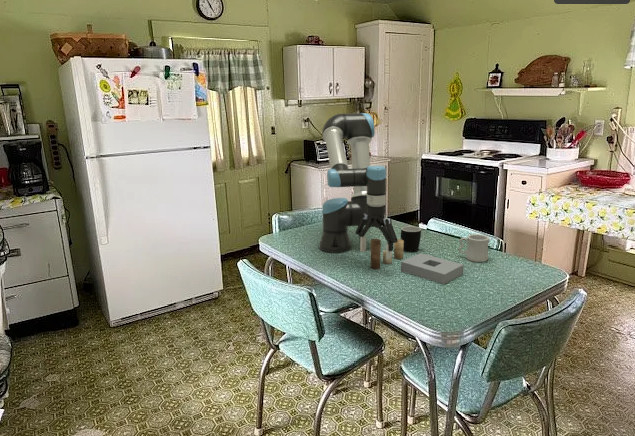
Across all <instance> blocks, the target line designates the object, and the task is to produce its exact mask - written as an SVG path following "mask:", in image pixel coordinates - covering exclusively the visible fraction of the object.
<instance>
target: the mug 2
mask: <svg viewBox="0 0 635 436" xmlns="http://www.w3.org/2000/svg"><path fill="white" fill-rule="evenodd" d="M466 237H467V238H466ZM466 237H461V238H460V239H459V240H458V241H459V244H460V245H461V246H459V247H458V251H459V253H460V254H462V255H464V254H465V258H466V259H467V260H468V261H470V262H475V263H485V262H487V261H488V260H489V243H490V237H489V236H488V235H485V234H480V233H479V234H477V233H475V234H474V233H473V234H469V235H467V236H466ZM463 240H464V241H465V242H467V246H466V247H467V248H466V250H464V251H463V250H462V249H463V248H464V247H465V245H464V243H463V242H462V241H463Z"/></svg>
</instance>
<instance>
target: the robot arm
mask: <svg viewBox="0 0 635 436" xmlns="http://www.w3.org/2000/svg"><path fill="white" fill-rule="evenodd" d="M375 133H376V131H375V123H374V119H373V116H372V115H371V114H370V113H367V112H366V113H365V112H360V113H359V112H358V113H357V112H355V113H337V114H334V115H332V116H331V117H329V118H328V119H327V120H326V121H325V123H324V125H323V127H322V132H321V134H322V139H323V141H324V142H325V146H326V151H327V155H328V162H329V167H330V168H329V169H328V170H327V173H326V179H327V186H328V187H330V188H351V187H353V194H352V196H351V197H350V200H348V199H347V198H346V197H336V198H335V197H334V198H330V199H328V200H325V201H324V202H323V203H322V235H321V238H320V241H319V250H321V251H323V252H326V253H331V254H333V253H335V254H337V253H338V254H339V253H344V252H349V251H350V250H351V249H352V241H351V238H350V236H349V232H348V230H349V228H348V227H356V230H355V234H356V235H358V238H359V240H358V241H359V242H358V243H359V244H360V246H359V248H360V251H359V252H361V253H363V252H365V251H367V236H366V234H367V232H368V231H369V230H370V229H371V227H372V228H375V229H378V230H380V231H381V234H382V236H383V237H384V238H385V240H386V242H387V243H386V244H385V248H386V249H385V250H386V259H390V258H392V259H393V252H394V243H395V242H398V240H397V239H398V237H397V234H396V232H395V230H394V227H393V223H392V218H390V217H389V218H386V217H385V216H386V209H387V208H386V204H387V203H386V201H387V200H386V194H387V193H386V192H387V191H386V189H387V181H386V180H387V169H386V167H385V166H384V165H371V160H370V145H369V144H370V143H371V142H372V140H373V138H374V137H375V135H376V134H375ZM343 139H346V142H347V144H348V145H350V155H351V156H350V157H351V168H349V165H348V160H347V156H346V155H347V154H346V151H345V146H344V141H343Z"/></svg>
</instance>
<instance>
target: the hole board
mask: <svg viewBox="0 0 635 436" xmlns="http://www.w3.org/2000/svg"><path fill="white" fill-rule="evenodd" d="M464 268H465V267H464V264H462V263H459V262H454V261H451V260H448V259H443V258H440V257H436V256H433V255H429V254H425V253H422V252H420V253H418V254H415V255H414V256H411V257H409V258H406V259H404V260H402V261H401V262H400V272H404V273H405V274H409V275H413V276H416V277H419V278H422V279H426V280H428V281H431V282H432V281H433V282H435V283H438V284H442V285H445V284H448V283H449V282H451V281H453V280H455V279H457V278H458V277H461V276H463V275H464Z"/></svg>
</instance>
